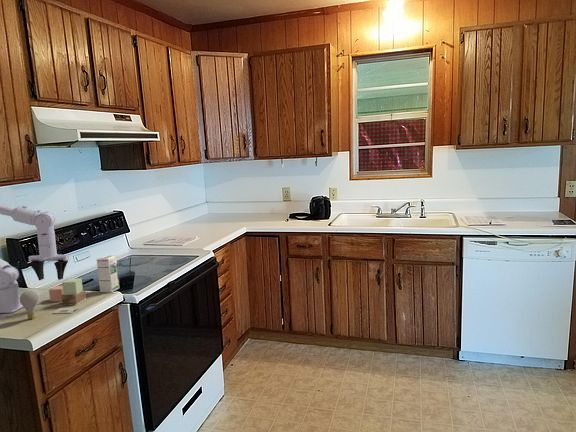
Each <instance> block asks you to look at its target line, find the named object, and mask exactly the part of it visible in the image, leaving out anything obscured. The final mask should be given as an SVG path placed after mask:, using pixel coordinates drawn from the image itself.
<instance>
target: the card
mask: <svg viewBox="0 0 576 432" xmlns="http://www.w3.org/2000/svg"><path fill="white" fill-rule="evenodd" d="M73 308H74V307H60V308H57V309H56V310H55V311H54V310H53V312H51V313H52V315H55V314H56V315H59V314H60V313H61V314H63V313H70V314H72V312H73V311H74V310H73ZM74 312H75V311H74ZM74 312H73V313H74ZM61 314H60V315H61ZM63 315H64V314H63Z"/></svg>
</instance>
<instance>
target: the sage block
mask: <svg viewBox="0 0 576 432" xmlns="http://www.w3.org/2000/svg"><path fill="white" fill-rule="evenodd" d="M61 286H63V295H77V294H78V293H80V292H81V291H84V290H83V289H84V288H83V280H82V278H79V277H78V278H67V279H66V280H64V281H62V282H61Z"/></svg>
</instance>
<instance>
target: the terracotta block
mask: <svg viewBox="0 0 576 432" xmlns="http://www.w3.org/2000/svg"><path fill="white" fill-rule="evenodd" d="M48 291H49V301H61V302H62V297H61V295H63V285H55V286H54V287H52V288H51V287H50V289H48Z"/></svg>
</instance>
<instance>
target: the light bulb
mask: <svg viewBox="0 0 576 432" xmlns="http://www.w3.org/2000/svg"><path fill="white" fill-rule="evenodd" d="M19 296H20V304H22V305H23V307H22V308H24V309H25V310H26V314H27V319H30V320H32V319H34V318H35V316H36V315H35V308H36V305H37V303H38V301H39V295H38V293H37V292H36V291H34V290H26V291H24V292H23V293H22V294H20V295H19Z"/></svg>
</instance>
